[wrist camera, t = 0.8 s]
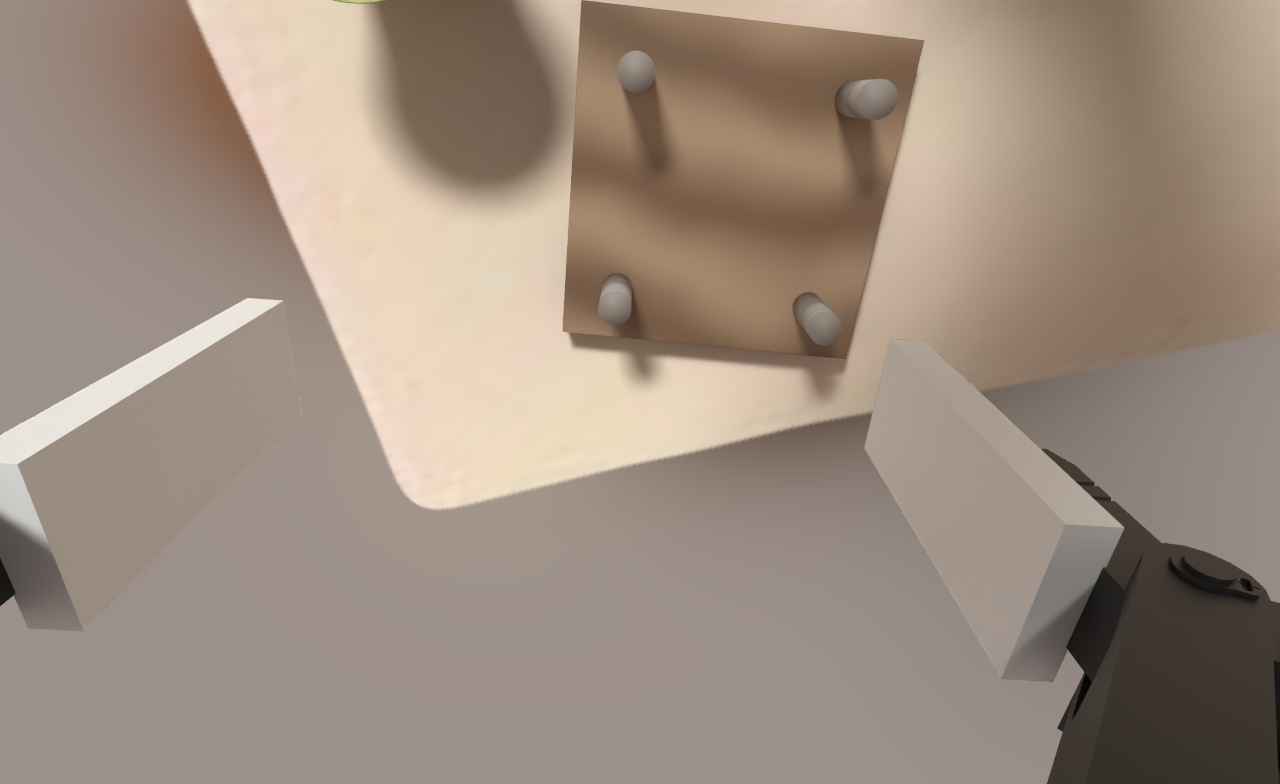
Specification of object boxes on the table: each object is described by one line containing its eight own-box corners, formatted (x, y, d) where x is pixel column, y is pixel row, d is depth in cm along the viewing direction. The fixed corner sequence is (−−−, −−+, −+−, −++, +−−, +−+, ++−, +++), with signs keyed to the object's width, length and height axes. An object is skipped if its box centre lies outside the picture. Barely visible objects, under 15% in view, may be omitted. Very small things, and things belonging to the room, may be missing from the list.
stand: (584, 4, 31) (573, -14, 26) (912, 42, 32) (962, 33, 27) (565, 323, 38) (554, 357, 33) (838, 349, 39) (868, 387, 34)
